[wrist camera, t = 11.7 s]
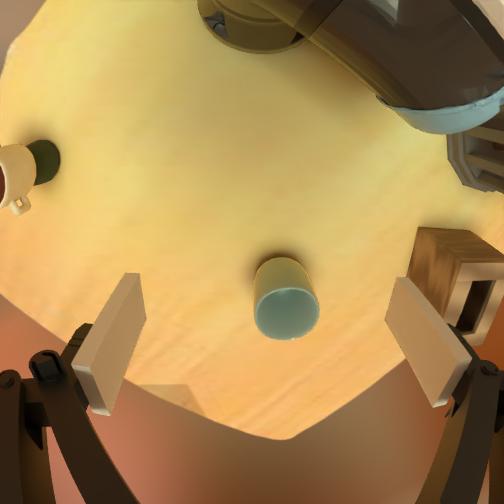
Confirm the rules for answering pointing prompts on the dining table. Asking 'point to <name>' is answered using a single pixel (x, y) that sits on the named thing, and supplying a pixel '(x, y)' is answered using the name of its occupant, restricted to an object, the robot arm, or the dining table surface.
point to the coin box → (459, 278)
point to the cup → (284, 299)
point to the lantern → (480, 154)
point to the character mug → (25, 172)
